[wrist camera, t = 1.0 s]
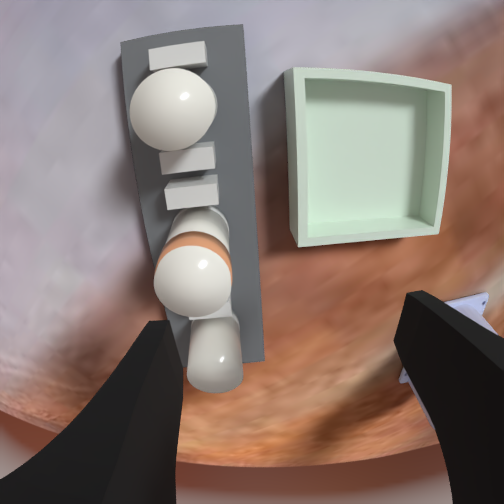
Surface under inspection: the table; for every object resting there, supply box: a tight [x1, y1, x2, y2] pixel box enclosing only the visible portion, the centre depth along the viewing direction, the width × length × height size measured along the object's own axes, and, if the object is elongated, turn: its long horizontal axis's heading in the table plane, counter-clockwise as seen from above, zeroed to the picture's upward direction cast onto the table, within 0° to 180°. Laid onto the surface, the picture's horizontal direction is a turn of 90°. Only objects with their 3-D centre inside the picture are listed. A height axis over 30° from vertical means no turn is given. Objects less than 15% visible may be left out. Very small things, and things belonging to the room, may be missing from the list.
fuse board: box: [121, 24, 265, 367], centre depth 17 cm, size 21×6×3 cm, turn 4°
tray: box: [284, 68, 451, 247], centre depth 16 cm, size 9×9×2 cm
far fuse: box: [187, 310, 243, 393], centre depth 18 cm, size 3×3×4 cm
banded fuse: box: [154, 205, 232, 317], centre depth 14 cm, size 3×3×6 cm
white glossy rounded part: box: [130, 68, 218, 151], centre depth 12 cm, size 3×3×4 cm
